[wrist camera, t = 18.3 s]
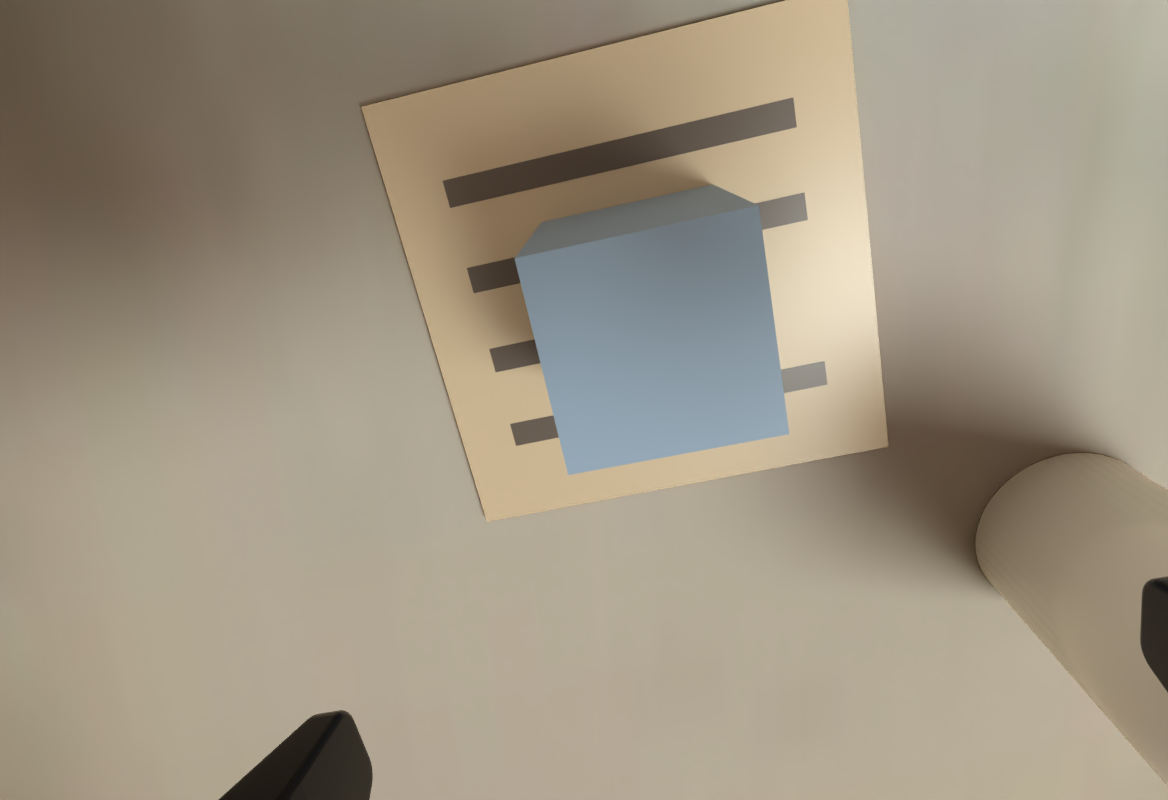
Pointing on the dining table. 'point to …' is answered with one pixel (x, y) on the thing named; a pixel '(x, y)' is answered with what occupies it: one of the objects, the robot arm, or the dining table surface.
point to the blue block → (655, 328)
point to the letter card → (627, 174)
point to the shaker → (1086, 579)
